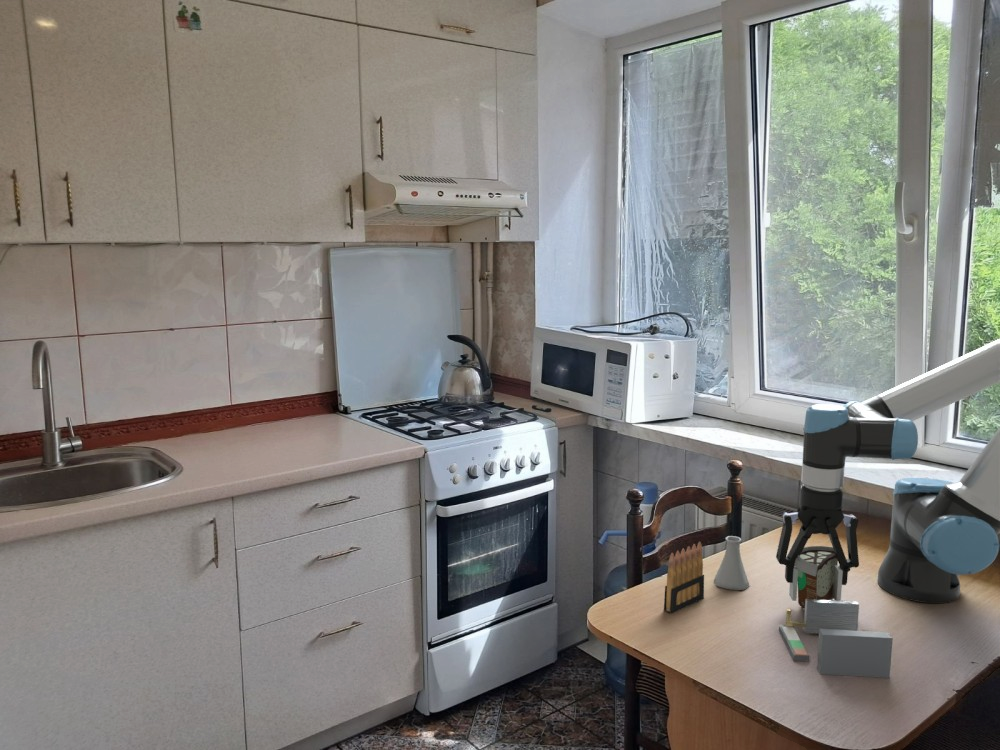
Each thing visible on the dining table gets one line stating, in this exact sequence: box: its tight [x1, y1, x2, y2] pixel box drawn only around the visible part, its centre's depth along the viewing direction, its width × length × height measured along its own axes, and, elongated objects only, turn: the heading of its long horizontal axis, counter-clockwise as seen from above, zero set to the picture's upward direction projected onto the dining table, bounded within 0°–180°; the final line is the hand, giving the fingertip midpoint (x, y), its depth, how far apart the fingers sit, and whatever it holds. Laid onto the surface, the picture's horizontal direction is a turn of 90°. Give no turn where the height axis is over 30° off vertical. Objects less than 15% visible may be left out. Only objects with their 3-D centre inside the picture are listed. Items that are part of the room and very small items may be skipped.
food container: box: [794, 545, 839, 610], centre depth 156 cm, size 12×6×10 cm, turn 138°
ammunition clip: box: [663, 541, 705, 615], centre depth 158 cm, size 11×2×12 cm, turn 131°
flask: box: [713, 535, 750, 591], centre depth 167 cm, size 7×7×10 cm
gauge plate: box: [785, 599, 860, 635], centre depth 146 cm, size 12×1×6 cm, turn 84°
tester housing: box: [778, 624, 894, 679], centre depth 139 cm, size 14×15×7 cm
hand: (814, 598), depth 156 cm, fingers closed on food container, 7 cm apart
